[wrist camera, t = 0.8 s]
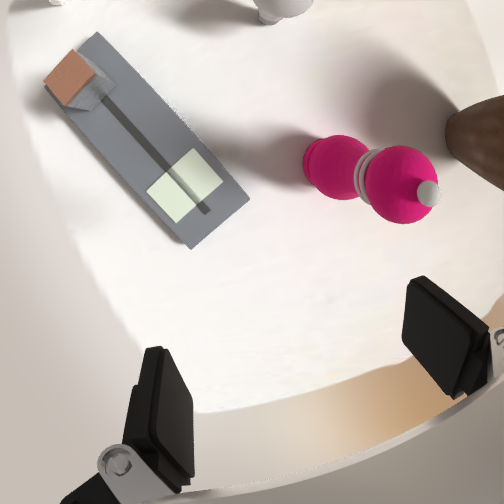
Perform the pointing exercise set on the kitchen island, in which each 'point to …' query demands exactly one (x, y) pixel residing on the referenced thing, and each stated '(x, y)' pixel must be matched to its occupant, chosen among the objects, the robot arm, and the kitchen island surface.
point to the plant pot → (480, 139)
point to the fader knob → (79, 82)
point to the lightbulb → (280, 9)
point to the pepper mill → (374, 177)
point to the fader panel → (155, 150)
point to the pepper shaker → (58, 2)
